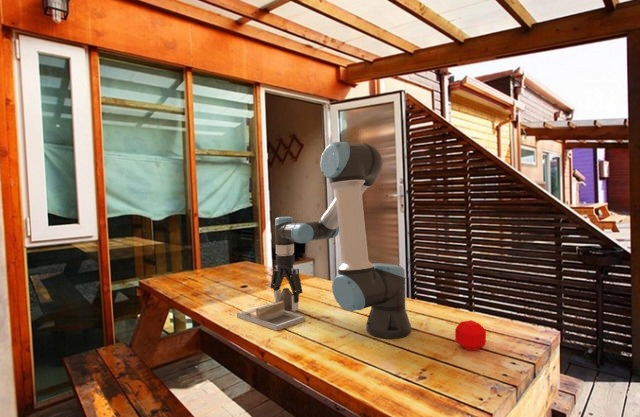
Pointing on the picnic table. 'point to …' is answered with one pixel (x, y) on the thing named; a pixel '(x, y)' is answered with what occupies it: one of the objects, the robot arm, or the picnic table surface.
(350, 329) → the picnic table surface
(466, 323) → the ball
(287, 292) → the vase
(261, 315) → the cover
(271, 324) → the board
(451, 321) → the picnic table surface
